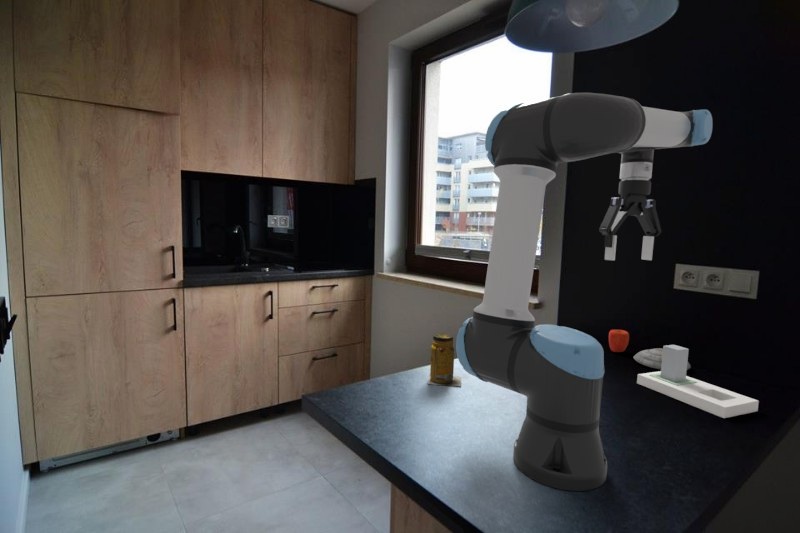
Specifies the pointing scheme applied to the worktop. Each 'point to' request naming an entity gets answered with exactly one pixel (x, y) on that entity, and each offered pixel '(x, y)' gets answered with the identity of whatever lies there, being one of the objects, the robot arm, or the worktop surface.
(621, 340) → the apple
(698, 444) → the worktop surface
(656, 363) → the flying saucer
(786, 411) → the worktop surface
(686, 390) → the panel
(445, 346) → the condiment
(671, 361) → the plug
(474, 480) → the worktop surface
